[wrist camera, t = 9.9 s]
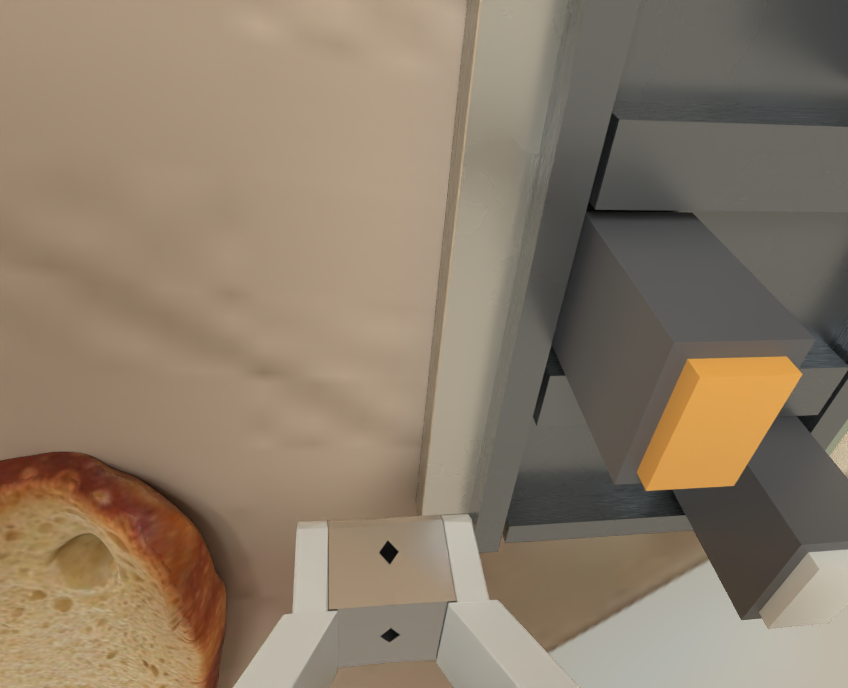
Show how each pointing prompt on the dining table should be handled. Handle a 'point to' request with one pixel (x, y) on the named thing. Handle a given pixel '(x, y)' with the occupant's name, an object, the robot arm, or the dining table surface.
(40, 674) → the slice of bread
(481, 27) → the panel
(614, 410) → the breaker mid
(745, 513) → the breaker
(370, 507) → the dining table surface
